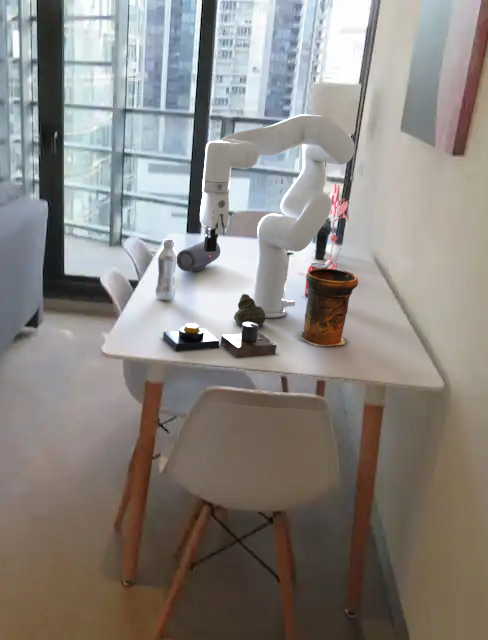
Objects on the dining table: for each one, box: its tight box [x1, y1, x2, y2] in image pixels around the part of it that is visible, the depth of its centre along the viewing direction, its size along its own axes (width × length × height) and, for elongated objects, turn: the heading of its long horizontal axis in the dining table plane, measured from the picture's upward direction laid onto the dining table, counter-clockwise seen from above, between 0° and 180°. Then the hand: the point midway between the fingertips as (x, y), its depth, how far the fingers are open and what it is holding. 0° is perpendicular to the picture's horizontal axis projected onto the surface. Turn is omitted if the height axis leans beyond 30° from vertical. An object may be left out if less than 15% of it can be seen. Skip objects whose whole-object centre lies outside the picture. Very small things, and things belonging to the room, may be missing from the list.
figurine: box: [300, 183, 350, 276], centre depth 275 cm, size 15×26×35 cm, turn 174°
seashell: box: [233, 293, 266, 328], centre depth 220 cm, size 11×12×10 cm
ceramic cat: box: [313, 217, 332, 261], centre depth 308 cm, size 20×6×20 cm, turn 164°
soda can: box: [303, 262, 329, 300], centre depth 249 cm, size 7×7×12 cm
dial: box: [240, 322, 260, 342], centre depth 200 cm, size 4×4×5 cm
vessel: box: [296, 267, 359, 347], centre depth 208 cm, size 14×14×20 cm
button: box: [184, 322, 200, 333], centre depth 203 cm, size 4×4×2 cm
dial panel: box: [220, 332, 277, 359], centre depth 201 cm, size 12×10×3 cm
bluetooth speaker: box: [176, 240, 221, 273], centre depth 280 cm, size 23×9×10 cm, turn 148°
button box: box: [162, 325, 220, 352], centre depth 204 cm, size 13×10×4 cm
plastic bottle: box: [155, 239, 178, 301], centre depth 239 cm, size 6×7×20 cm
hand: (209, 250), depth 211 cm, fingers closed
